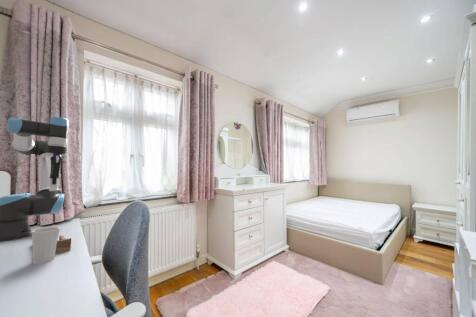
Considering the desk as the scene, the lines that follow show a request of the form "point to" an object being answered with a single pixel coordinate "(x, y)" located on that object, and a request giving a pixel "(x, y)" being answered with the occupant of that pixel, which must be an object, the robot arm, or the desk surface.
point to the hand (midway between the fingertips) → (52, 190)
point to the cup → (44, 244)
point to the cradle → (63, 244)
